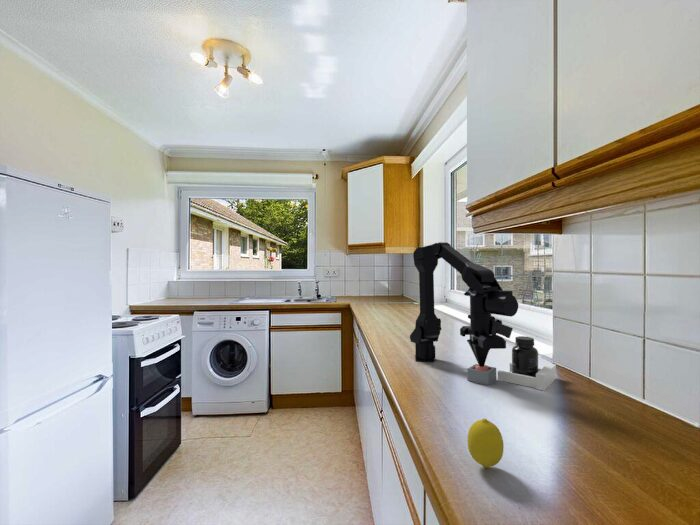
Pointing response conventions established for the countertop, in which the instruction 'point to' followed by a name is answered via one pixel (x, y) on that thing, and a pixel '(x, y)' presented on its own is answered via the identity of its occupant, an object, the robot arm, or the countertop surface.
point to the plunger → (481, 368)
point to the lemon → (485, 443)
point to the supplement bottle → (524, 357)
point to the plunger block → (481, 375)
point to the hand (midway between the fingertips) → (481, 366)
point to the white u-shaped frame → (539, 382)
